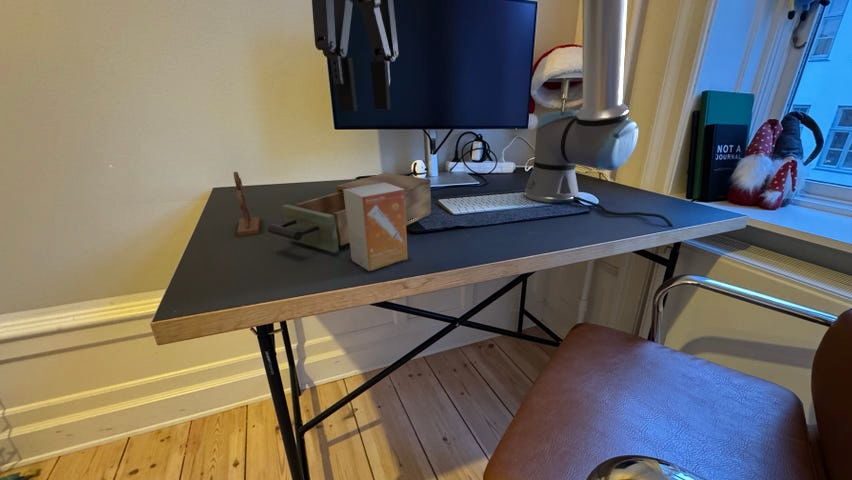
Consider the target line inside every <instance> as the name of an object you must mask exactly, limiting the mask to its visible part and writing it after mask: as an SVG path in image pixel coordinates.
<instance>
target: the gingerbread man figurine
mask: <svg viewBox="0 0 852 480" xmlns="http://www.w3.org/2000/svg"><path fill="white" fill-rule="evenodd" d="M233 179H234V183H235V187H236V189H237V191H236V194H237V199H238V204H239V208H240V210H241V211H242V215H243V218H240V219H239V220H238V226H237V231H236V233H237V236H238V237H242V236H251V235H258V234H260V226H261V225H260V218H259V217H258V216H254V217H252V216H250V213H249V209H248V206H247V204H246V199H245V193H244V187H243V183H242V179H241V177H240V175H239V172H238V171H233Z"/></svg>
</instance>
